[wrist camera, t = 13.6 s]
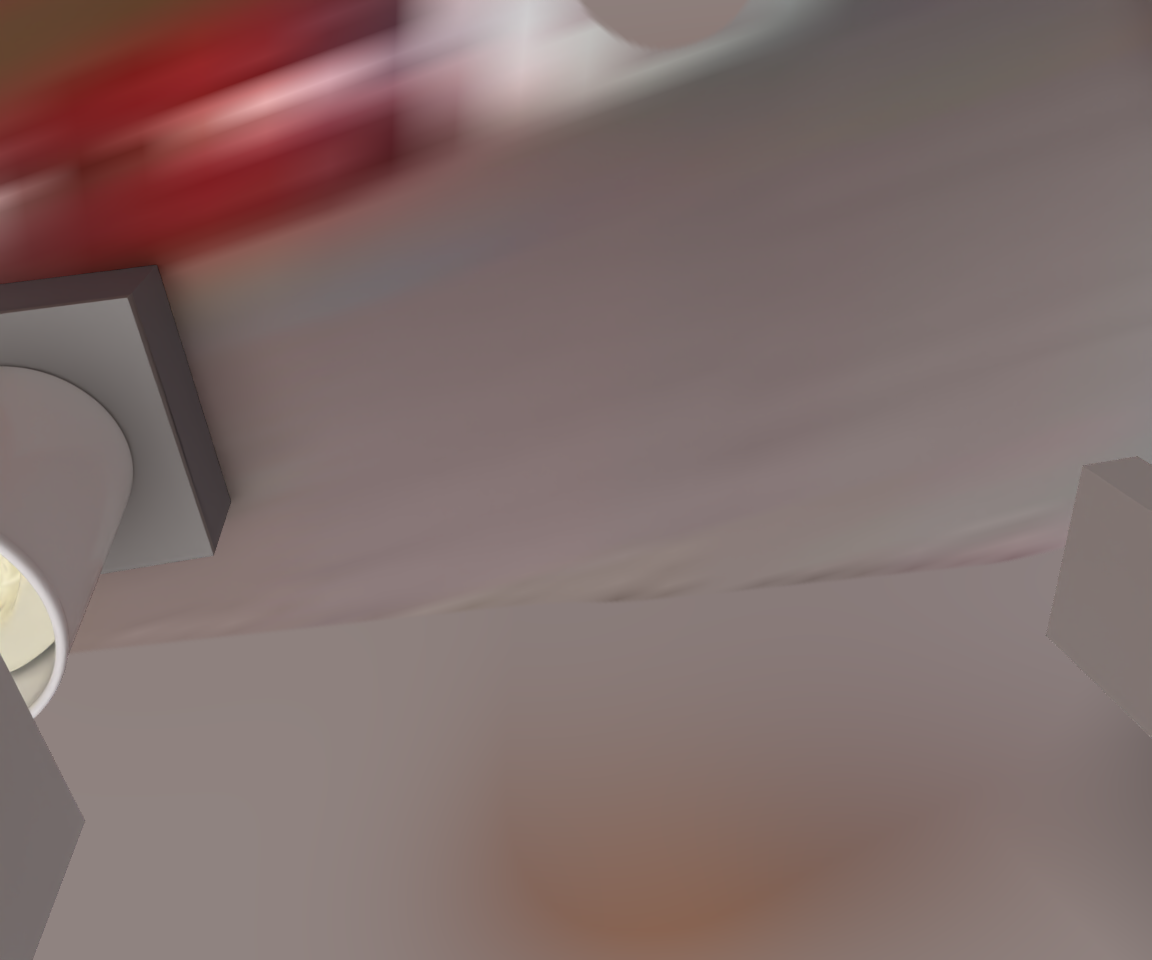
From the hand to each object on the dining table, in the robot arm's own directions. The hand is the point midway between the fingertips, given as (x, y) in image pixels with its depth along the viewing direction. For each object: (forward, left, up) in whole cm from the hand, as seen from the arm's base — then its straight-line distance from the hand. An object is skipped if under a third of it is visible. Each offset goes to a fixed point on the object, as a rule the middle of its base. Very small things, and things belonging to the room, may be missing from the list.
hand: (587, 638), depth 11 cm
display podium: (+19, +8, -33) cm, 39 cm away
